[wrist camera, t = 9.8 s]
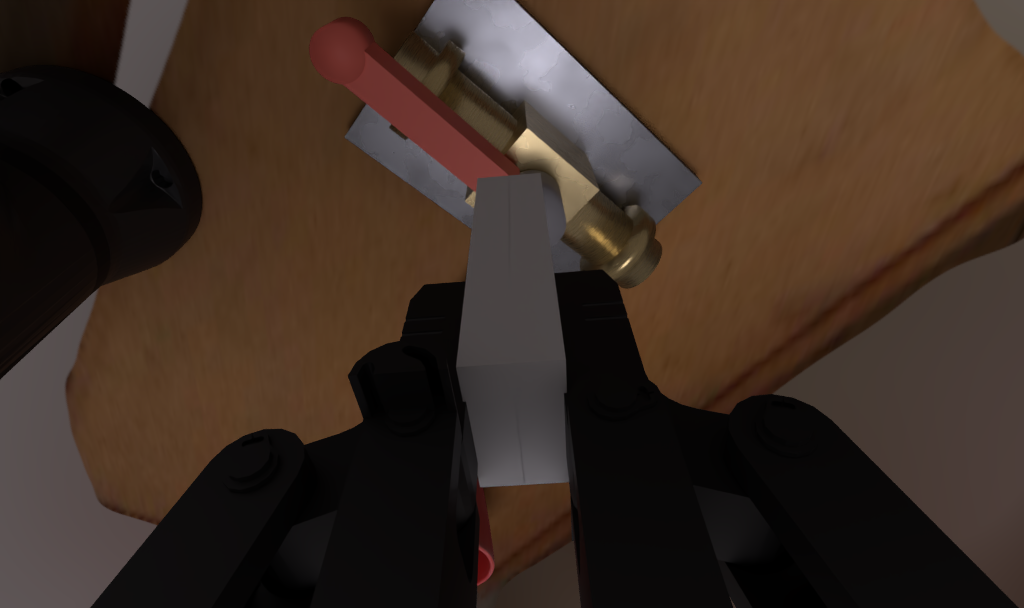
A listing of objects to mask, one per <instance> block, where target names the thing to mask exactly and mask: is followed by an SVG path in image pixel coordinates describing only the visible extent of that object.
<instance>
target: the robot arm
mask: <svg viewBox="0 0 1024 608" xmlns="http://www.w3.org/2000/svg"><path fill="white" fill-rule="evenodd" d="M201 209H202V197H201V189H200V185H199V181H198V178H197V175H196V172H195V169H194V167H193V165H192V163H191V161H190V159H189V157H188V155H187V153H186V152H185V150H184V148H183V147H182V145H181V144H180V142H179V141H178V140H177V138H176V137H175V136H174V134H173V133H172V132H171V131H170V130H169V128H168V127H167V126H166V125H165V124H164V123H163V122H162V121H161V120H160V119H159V118H158V117H157V116H156V115H155V114H154V113H153V112H152V111H151V110H149V109H148V108H147V107H146V106H145V105H143V104H142V103H141V102H139V101H138V100H137V99H135V98H134V97H132V96H131V95H129V94H128V93H127V92H125V91H123V90H122V89H120V88H118V87H116V86H115V85H113V84H111V83H109V82H107V81H105V80H103V79H100V78H98V77H96V76H93V75H91V74H88V73H85V72H82V71H78V70H75V69H70V68H66V67H60V66H51V65H34V66H26V67H21V68H18V69H14V70H11V71H8V72H4V73H1V74H0V379H1V378H2V377H3V376H4V375H5V374H6V373H7V372H9V370H11V369H12V368H13V367H14V366H15V365H16V364H17V363H18V362H19V361H20V360H21V359H22V358H24V357H25V356H26V355H27V354H28V353H29V352H30V351H31V350H32V349H33V348H34V347H35V346H36V345H37V344H39V342H40V341H42V340H43V339H44V338H45V337H46V336H47V335H48V334H49V333H50V332H51V331H52V330H53V329H55V327H57V326H58V325H59V324H60V323H61V322H62V321H63V320H64V319H65V318H66V317H67V316H68V315H70V313H72V312H73V311H74V310H75V309H76V308H77V307H78V306H79V305H80V304H81V303H82V302H83V301H85V300H86V299H87V298H88V297H89V296H90V295H91V294H92V293H93V292H94V291H96V290H97V289H98V288H99V287H100V286H102V285H105V284H108V283H111V282H114V281H116V280H119V279H122V278H125V277H128V276H130V275H133V274H136V273H139V272H142V271H144V270H147V269H150V268H152V267H155V266H157V265H159V264H161V263H163V262H164V261H166V260H167V259H169V258H170V257H171V256H173V255H174V254H175V253H176V252H177V251H178V250H179V249H180V248H181V247H182V246H183V245H184V244H185V243H186V242H187V241H188V240H189V239H190V238H191V236H192V235H193V233H194V232H195V230H196V228H197V226H198V223H199V220H200V216H201ZM348 378H349V381H350V383H351V386H352V389H353V391H354V394H355V397H356V399H357V402H358V405H359V408H360V410H361V413H362V416H363V418H364V419H363V422H362V423H360V424H358V425H357V426H355V427H354V428H352V429H349V430H347V431H344V432H342V433H340V434H337V435H334V436H331V437H327V438H324V439H321V440H318V441H315V442H312V443H309V444H306V445H304V444H303V443H302V441H301V440H300V439H299V438H298V436H297V435H296V434H295V433H292V432H289V431H286V430H284V429H264V430H260V431H257V432H254V433H251V434H248V435H245V436H243V437H241V438H239V439H238V440H236V441H234V442H233V443H231V444H229V445H228V446H226V447H225V448H224V449H223V450H222V451H221V452H220V453H219V454H217V455H216V456H215V457H214V458H213V459H212V460H211V461H210V462H209V464H208V465H207V466H206V467H205V468H204V470H203V471H202V472H201V473H200V475H199V476H198V477H197V478H196V479H195V481H194V482H193V483H192V484H191V486H190V487H189V488H188V489H187V490H186V492H185V493H184V494H183V495H182V496H181V498H180V499H179V500H178V501H177V503H176V504H175V505H174V506H173V507H172V509H171V510H170V511H169V512H168V514H167V515H166V516H165V517H164V518H163V520H162V521H161V522H160V523H159V525H158V526H157V527H156V528H155V530H154V531H153V532H152V533H151V535H150V536H149V537H148V538H147V539H146V540H145V542H144V543H143V544H142V546H141V547H140V548H139V549H138V550H137V551H136V553H135V554H134V555H133V556H132V557H131V559H130V560H129V561H128V562H127V564H126V565H125V566H124V567H123V569H122V570H121V571H120V572H119V573H118V575H117V576H116V577H115V578H114V579H113V581H112V582H111V583H110V584H109V586H108V587H107V588H106V589H105V590H104V592H103V593H102V594H101V595H100V597H99V598H98V599H97V600H96V601H95V603H94V604H93V605H92V606H91V608H476V603H477V579H478V555H479V531H480V517H479V511H478V506H477V501H476V492H477V474H478V479H479V484H480V487H494V486H511V485H528V484H545V483H562V482H569V485H570V494H571V524H572V541H574V545H575V555H576V563H577V574H578V583H579V592H580V601H581V608H733V606H732V603H731V600H732V601H733V603H734V605H735V606H736V608H1018V607H1017V606H1016V605H1015V604H1014V603H1013V602H1012V601H1011V600H1010V599H1009V598H1008V597H1007V596H1006V595H1005V594H1004V593H1003V592H1002V591H1001V590H1000V589H999V588H998V587H997V586H996V585H995V584H994V583H993V581H991V579H990V578H989V577H988V576H986V574H984V572H983V571H982V570H980V568H979V567H977V565H976V564H975V563H973V561H972V560H971V559H970V558H969V557H968V556H967V555H966V554H964V552H963V551H962V550H961V549H959V547H958V546H957V545H956V544H954V542H952V540H951V539H950V538H949V537H948V536H947V535H945V534H944V533H943V532H942V530H941V529H940V528H938V526H937V525H936V524H935V523H934V522H933V521H932V520H931V519H930V518H929V517H928V516H927V515H926V514H924V512H923V511H922V510H921V509H920V508H919V507H918V506H917V505H916V504H915V503H914V502H913V501H912V500H911V499H910V498H909V497H908V496H907V495H906V494H905V493H904V492H903V491H902V490H901V489H900V488H899V487H898V486H897V485H896V484H895V483H894V482H893V481H892V480H891V479H890V478H889V477H888V476H887V475H886V474H885V473H884V472H883V471H882V470H881V469H880V468H879V467H878V466H877V465H876V464H875V463H874V462H873V461H872V460H871V459H870V458H869V457H868V456H867V455H866V454H865V453H864V452H863V451H862V450H861V449H860V448H859V447H858V446H857V445H856V444H855V443H854V442H853V441H852V440H851V439H850V438H849V437H848V436H847V435H846V434H845V433H844V432H843V431H842V430H841V429H840V428H839V427H838V426H837V425H836V424H835V423H834V422H833V421H832V420H831V419H829V418H828V417H827V416H825V415H824V414H823V413H821V412H820V411H819V410H818V409H816V408H815V407H813V406H811V405H809V404H806V403H804V402H802V401H799V400H797V399H794V398H791V397H785V396H779V395H774V394H768V395H758V396H751V397H749V398H747V399H745V400H743V401H741V402H739V403H737V405H736V406H735V408H734V409H733V410H732V412H731V413H730V414H729V415H728V414H722V413H717V412H712V411H706V410H701V409H696V408H692V407H689V406H685V405H682V404H679V403H677V402H675V401H673V400H671V399H669V398H667V397H666V396H664V395H663V394H662V393H661V392H660V391H659V389H658V387H657V386H656V385H655V384H654V383H652V382H651V381H650V380H649V379H648V377H647V375H646V373H645V371H644V368H643V364H642V361H641V358H640V355H639V351H638V348H637V345H636V342H635V338H634V335H633V332H632V329H631V325H630V322H629V319H628V318H627V312H626V309H625V306H624V304H623V300H622V296H621V293H620V290H619V287H618V283H617V282H616V281H614V280H613V279H612V278H611V277H610V276H609V275H608V274H607V273H606V272H605V271H604V270H602V269H600V270H587V271H574V272H561V273H554V269H553V262H552V254H551V247H550V240H549V232H548V225H547V218H546V210H545V203H544V196H543V188H542V181H541V173H534V174H522V175H510V176H498V177H486V178H478V179H477V188H476V196H475V205H474V214H473V223H472V232H471V240H470V249H469V258H468V267H467V275H466V282H453V283H440V284H426V285H424V286H423V287H422V288H421V289H420V290H419V291H418V292H417V294H416V295H415V296H414V297H413V298H412V299H411V300H410V303H409V307H408V311H407V315H406V322H405V323H404V327H403V331H402V337H401V339H400V341H397V342H392V343H387V344H385V345H383V346H380V347H378V348H376V349H374V350H372V351H370V352H368V353H367V354H366V355H365V356H363V357H362V358H361V359H360V360H359V361H357V362H356V363H355V365H354V367H353V368H352V370H351V372H350V373H349V375H348ZM729 596H730V597H729ZM730 598H731V600H730Z"/></svg>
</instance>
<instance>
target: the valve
mask: <svg viewBox="0 0 1024 608" xmlns="http://www.w3.org/2000/svg"><path fill="white" fill-rule="evenodd" d="M393 59H395V60H396V61H397V62H398V63H399V64H400V65H401V66H403V67H404V68H405V69H406V70H407V71H408V72H409V73H411V74H412V75H413V76H414V77H415V78H416V79H417V80H419V81H420V82H421V83H422V84H423V85H424V86H425V87H427V88H428V89H429V90H430V91H431V92H432V93H433V94H435V95H436V96H437V97H438V98H439V99H440V100H441V101H443V102H444V103H445V104H446V105H447V106H448V107H449V108H451V109H452V110H453V111H454V112H455V113H456V114H457V115H459V116H460V117H461V118H462V119H463V120H464V121H465V122H467V123H468V124H469V125H470V126H471V127H472V128H473V129H475V130H476V131H477V132H478V133H479V134H480V135H481V136H483V137H484V138H485V139H486V140H487V141H488V142H489V143H491V144H492V145H493V146H494V147H495V148H496V149H497V150H499V151H500V152H501V153H502V154H503V155H504V156H505V157H507V158H508V159H509V160H510V161H511V162H512V163H513V164H515V165H516V166H517V167H518V168H519V169H520V173H521V172H524V171H528V170H537V171H542V172H545V173H547V174H548V175H550V176H551V177H552V178H553V179H554V180H555V181H556V182H557V184H558V186H559V188H560V192H561V197H562V202H563V207H564V212H565V217H566V229H565V232H564V234H563V236H562V238H561V239H560V241H559V242H558V243H557V244H555V245H554V246H553V247H551V254H552V262H553V269H554V273H561V272H574V271H587V270H600V269H602V270H604V271H605V272H606V273H607V274H608V275H609V276H610V277H611V278H612V279H613V280H614V281H616V282H617V283H618V285H619V286H620V287H622V288H625V289H628V288H632V287H635V286H637V285H639V284H640V283H642V282H643V281H644V280H645V279H647V278H648V277H649V276H650V275H651V273H652V272H653V271H654V269H655V268H656V266H657V265H658V263H659V261H660V258H661V255H662V246H661V244H660V242H659V241H657V240H656V239H655V238H654V237H655V232H656V224H657V223H658V222H659V221H661V220H662V219H663V218H664V217H665V216H666V215H667V214H668V213H669V212H671V211H672V210H673V209H674V208H675V207H676V206H677V205H678V204H679V203H681V202H682V201H683V200H684V199H685V198H686V197H687V196H688V195H689V194H691V193H692V192H693V191H694V190H695V189H696V188H697V187H698V186H700V185H701V184H702V182H701V181H700V179H699V178H698V177H697V175H696V174H695V173H694V172H693V171H692V170H691V169H689V168H688V167H687V166H686V165H685V164H684V163H683V162H682V161H681V160H680V159H679V158H678V157H677V156H676V155H675V154H674V153H673V152H672V151H671V150H670V149H669V148H668V147H667V146H666V145H665V144H664V143H663V142H662V141H661V140H660V139H659V138H658V137H657V136H656V135H655V134H653V133H652V132H651V131H650V130H649V129H648V128H647V127H646V126H645V125H644V124H643V123H642V122H641V121H640V120H639V119H638V118H637V117H636V116H635V115H634V114H633V113H632V112H631V111H630V110H629V109H628V108H627V107H626V106H625V105H624V104H623V103H622V102H621V101H620V100H619V99H618V98H616V97H615V96H614V95H613V94H612V93H611V92H610V91H609V90H608V89H607V88H606V87H605V86H604V85H603V84H602V83H601V82H600V81H599V80H598V79H597V78H596V77H595V76H594V75H593V74H592V73H591V72H590V71H589V70H588V69H587V68H586V67H585V66H584V65H583V64H582V63H580V62H579V61H578V60H577V59H576V58H575V57H574V56H573V55H572V54H571V53H570V52H569V51H568V50H567V49H566V48H565V47H564V46H563V45H562V44H561V43H560V42H559V41H558V40H557V39H556V38H555V37H554V36H553V35H552V34H551V33H550V32H549V31H548V30H547V29H546V28H545V27H543V26H542V25H541V24H540V23H539V22H538V21H537V20H536V19H535V18H534V17H533V16H532V15H531V14H530V13H529V12H528V11H527V10H526V9H525V8H524V7H523V6H522V5H521V4H520V3H519V2H518V1H517V0H434V2H433V3H432V5H431V7H430V8H429V10H428V11H427V13H426V14H425V16H424V17H423V19H422V20H421V22H420V23H419V25H418V26H417V28H416V29H415V31H413V32H412V33H411V34H410V35H409V37H408V38H407V40H406V41H405V42H404V44H403V45H402V47H401V48H400V50H399V51H398V53H397V54H396V55H395V57H394V58H393ZM345 138H346V139H347V140H349V141H350V142H352V143H353V144H354V145H356V146H357V147H359V148H360V149H361V150H363V151H364V152H365V153H367V154H368V155H370V156H371V157H372V158H374V159H375V160H377V161H378V162H379V163H381V164H382V165H383V166H385V167H386V168H388V169H389V170H390V171H392V172H393V173H395V174H396V175H397V176H399V177H400V178H402V179H403V180H404V181H406V182H407V183H408V184H410V185H411V186H413V187H414V188H415V189H417V190H418V191H420V192H421V193H422V194H424V195H425V196H426V197H428V198H429V199H431V200H432V201H433V202H435V203H436V204H438V205H439V206H440V207H442V208H443V209H444V210H446V211H447V212H449V213H450V214H451V215H453V216H454V217H456V218H457V219H458V220H460V221H461V222H463V223H464V224H465V225H467V226H468V227H469V228H471V229H472V223H473V214H474V205H475V196H476V192H474V191H473V190H472V189H471V188H469V187H468V186H467V185H466V184H465V183H463V182H462V181H461V180H460V179H458V178H457V177H456V176H455V175H453V174H452V173H451V172H450V171H449V170H447V169H446V168H445V167H444V166H442V165H441V164H440V163H439V162H437V161H436V160H435V159H434V158H433V157H431V156H430V155H429V154H428V153H426V152H425V151H424V150H423V149H421V148H420V147H419V146H418V145H417V144H415V143H414V142H413V141H412V140H410V139H409V138H408V137H407V136H405V135H404V134H403V133H402V132H401V131H399V130H398V129H397V128H396V127H394V126H393V125H392V124H391V123H390V122H388V121H387V120H386V119H385V118H383V117H382V116H381V115H380V114H378V113H377V112H376V111H375V110H374V109H372V108H371V107H370V106H369V105H367V104H366V105H365V107H364V108H363V110H362V111H361V113H360V114H359V116H358V117H357V119H356V120H355V122H354V124H353V125H352V127H351V128H350V130H349V131H348V133H347V134H346V136H345Z"/></svg>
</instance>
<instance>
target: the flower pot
mask: <svg viewBox="0 0 1024 608" xmlns="http://www.w3.org/2000/svg"><path fill="white" fill-rule="evenodd" d="M476 501H477V506H478V511H479V517H480V531H479V555H478V579H477V585H479V584H481V583H483V582H484V581H486V580H487V579H488V578H489V577H490V576H491V574H492V573H493V570H494V554H493V546H492V538H491V532H490V524H489V518H488V512H487V506H486V501H485V496H484V490H483V487H480V484H479V480H478V479H477V492H476Z"/></svg>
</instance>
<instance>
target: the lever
mask: <svg viewBox="0 0 1024 608" xmlns="http://www.w3.org/2000/svg"><path fill="white" fill-rule="evenodd" d="M309 52H310V58H311V61H312V63H313V65H314V67H315V69H316V70H317V71H318V72H319V73H320V75H322V76H323V77H324V78H325V79H327V80H329V81H331V82H333V83H336V84H343V85H344V86H345V87H346V88H348V89H349V90H350V91H351V92H353V93H354V94H355V95H356V96H358V97H359V98H360V99H361V100H362V101H364V102H365V103H366V104H367V105H369V106H370V107H371V108H372V109H374V110H375V111H376V112H377V113H378V114H380V115H381V116H382V117H383V118H385V119H386V120H387V121H388V122H390V123H391V124H392V125H393V126H394V127H396V128H397V129H398V130H399V131H401V132H402V133H403V134H404V135H405V136H407V137H408V138H409V139H410V140H412V141H413V142H414V143H415V144H417V145H418V146H419V147H420V148H421V149H423V150H424V151H425V152H426V153H428V154H429V155H430V156H431V157H433V158H434V159H435V160H436V161H437V162H439V163H440V164H441V165H442V166H444V167H445V168H446V169H447V170H449V171H450V172H451V173H452V174H453V175H455V176H456V177H457V178H458V179H460V180H461V181H462V182H463V183H465V184H466V185H467V186H468V187H469V188H471V189H472V190H473V191H474V192H476V188H477V179H478V178H486V177H498V176H510V175H522V174H534V173H541V181H542V188H543V196H544V203H545V210H546V218H547V225H548V232H549V240H550V247H553V246H554V245H555V244H557V243H558V242H559V241H560V239H561V238H562V236H563V234H564V232H565V229H566V217H565V212H564V207H563V202H562V197H561V192H560V188H559V186H558V184H557V182H556V181H555V180H554V179H553V178H552V177H551V176H550V175H548V174H547V173H545V172H542V171H537V170H528V171H524V172H521V173H520V169H519V168H518V167H517V166H516V165H515V164H513V163H512V162H511V161H510V160H509V159H508V158H507V157H505V156H504V155H503V154H502V153H501V152H500V151H499V150H497V149H496V148H495V147H494V146H493V145H492V144H491V143H489V142H488V141H487V140H486V139H485V138H484V137H483V136H481V135H480V134H479V133H478V132H477V131H476V130H475V129H473V128H472V127H471V126H470V125H469V124H468V123H467V122H465V121H464V120H463V119H462V118H461V117H460V116H459V115H457V114H456V113H455V112H454V111H453V110H452V109H451V108H449V107H448V106H447V105H446V104H445V103H444V102H443V101H441V100H440V99H439V98H438V97H437V96H436V95H435V94H433V93H432V92H431V91H430V90H429V89H428V88H427V87H425V86H424V85H423V84H422V83H421V82H420V81H419V80H417V79H416V78H415V77H414V76H413V75H412V74H411V73H409V72H408V71H407V70H406V69H405V68H404V67H403V66H401V65H400V64H399V63H398V62H397V61H396V60H395V59H393V58H392V57H391V56H390V55H389V54H388V53H387V52H385V51H384V50H383V49H382V48H381V47H380V46H379V45H377V44H376V43H375V41H374V38H373V36H372V34H371V32H370V30H369V29H368V28H367V27H366V26H365V25H364V24H363V23H362V22H360V21H359V20H357V19H354V18H351V17H341V18H338V19H336V20H334V21H332V22H330V23H328V24H327V25H325V26H323V27H321V28H320V29H318V30H317V31H316V32H315V33H314V35H313V36H312V38H311V41H310V45H309Z"/></svg>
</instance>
